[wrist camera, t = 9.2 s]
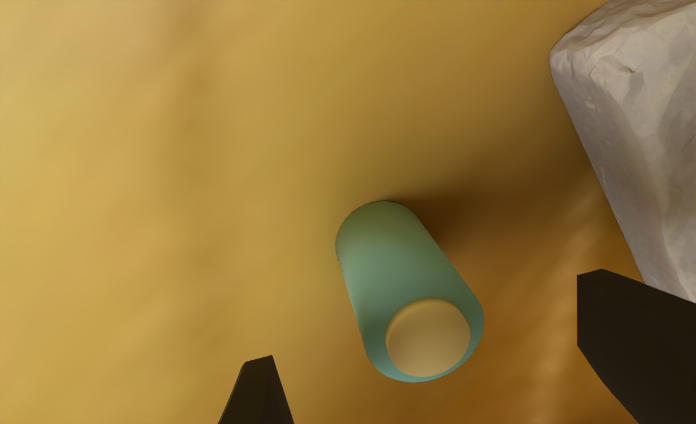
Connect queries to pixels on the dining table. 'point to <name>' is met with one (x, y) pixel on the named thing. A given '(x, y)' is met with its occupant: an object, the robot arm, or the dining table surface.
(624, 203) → the stone block
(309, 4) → the dining table surface
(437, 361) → the teal cylinder cream end
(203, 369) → the dining table surface
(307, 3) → the dining table surface
